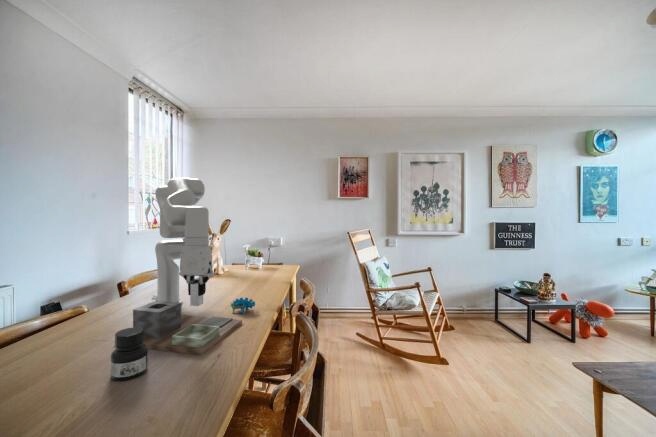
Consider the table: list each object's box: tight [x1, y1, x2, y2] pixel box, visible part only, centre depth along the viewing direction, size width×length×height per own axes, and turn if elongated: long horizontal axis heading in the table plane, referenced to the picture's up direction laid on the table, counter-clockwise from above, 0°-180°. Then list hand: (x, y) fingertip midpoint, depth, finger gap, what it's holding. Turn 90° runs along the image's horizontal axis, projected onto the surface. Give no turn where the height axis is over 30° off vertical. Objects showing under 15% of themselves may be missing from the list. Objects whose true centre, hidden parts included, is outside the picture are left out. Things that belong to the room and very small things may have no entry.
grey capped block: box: [189, 277, 204, 307], centre depth 106 cm, size 6×3×9 cm, turn 169°
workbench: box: [132, 300, 243, 356], centre depth 115 cm, size 33×28×11 cm
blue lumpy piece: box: [230, 297, 256, 315], centre depth 139 cm, size 11×6×10 cm
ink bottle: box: [110, 326, 149, 381], centre depth 87 cm, size 10×9×12 cm
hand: (196, 294), depth 106 cm, fingers closed on grey capped block, 3 cm apart
